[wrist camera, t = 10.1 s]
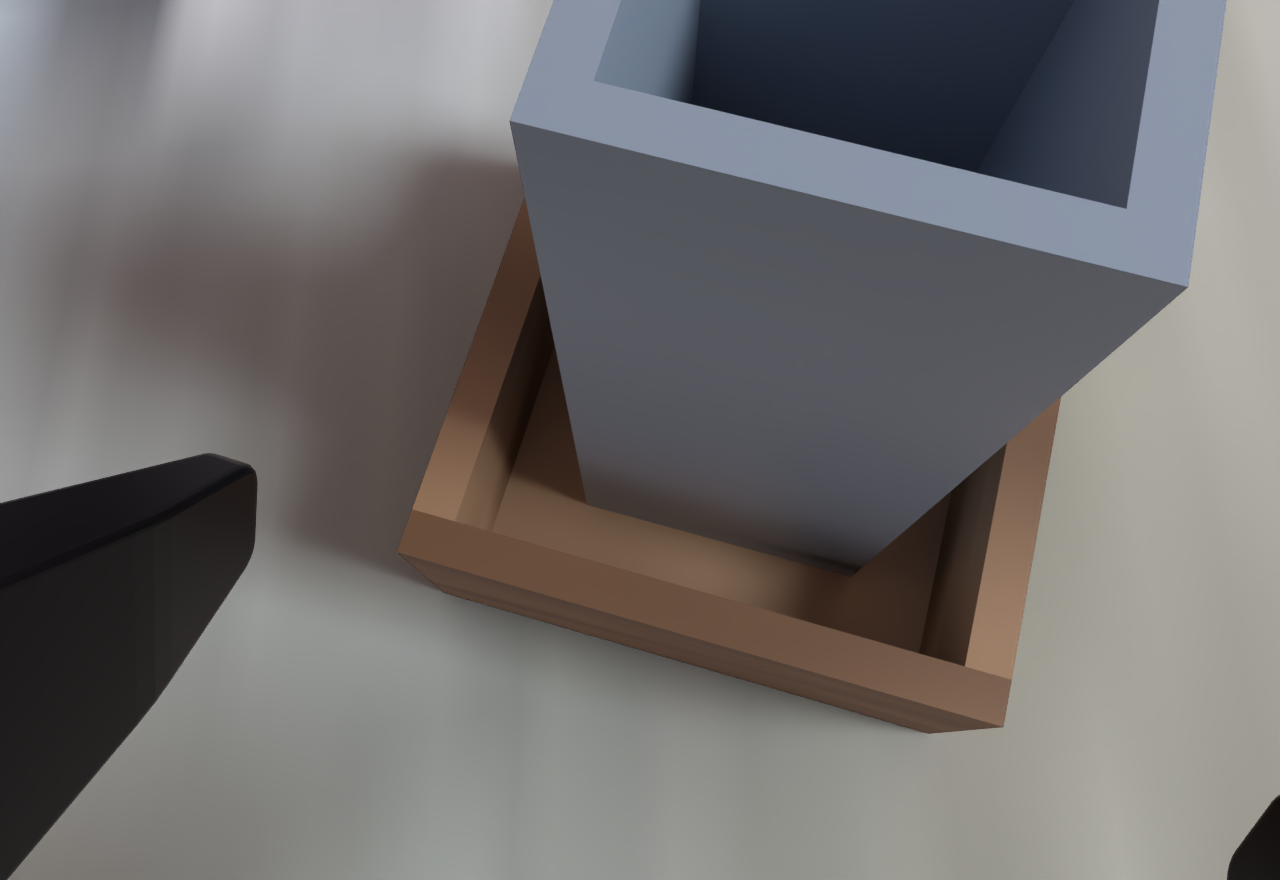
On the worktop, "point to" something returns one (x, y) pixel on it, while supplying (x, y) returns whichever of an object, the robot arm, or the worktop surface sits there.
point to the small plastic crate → (847, 240)
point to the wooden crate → (719, 550)
